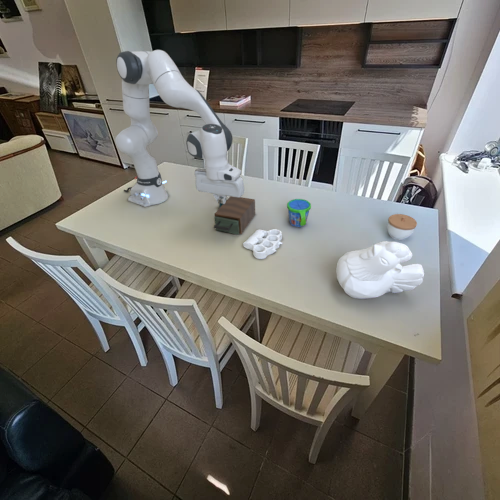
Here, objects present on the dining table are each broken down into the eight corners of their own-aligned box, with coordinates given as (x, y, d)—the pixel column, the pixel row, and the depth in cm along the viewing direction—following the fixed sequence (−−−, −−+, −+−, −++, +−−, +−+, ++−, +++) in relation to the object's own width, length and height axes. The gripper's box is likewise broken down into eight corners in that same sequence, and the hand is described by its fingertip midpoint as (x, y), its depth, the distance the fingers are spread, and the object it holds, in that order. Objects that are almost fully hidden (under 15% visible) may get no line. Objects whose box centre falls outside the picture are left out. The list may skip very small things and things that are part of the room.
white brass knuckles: (260, 230, 128) (289, 239, 122) (238, 251, 116) (269, 263, 110) (260, 224, 126) (289, 233, 119) (238, 245, 114) (269, 256, 108)
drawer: (234, 240, 121) (232, 228, 117) (210, 236, 125) (208, 223, 120) (252, 215, 136) (251, 203, 132) (231, 212, 140) (229, 200, 135)
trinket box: (409, 230, 123) (417, 212, 117) (412, 245, 115) (419, 226, 109) (383, 227, 126) (389, 209, 120) (384, 240, 118) (390, 222, 112)
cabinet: (241, 234, 126) (240, 218, 121) (216, 229, 130) (214, 213, 125) (255, 214, 138) (254, 199, 133) (232, 210, 142) (231, 195, 137)
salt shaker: (218, 209, 144) (216, 195, 139) (221, 205, 147) (220, 191, 142) (225, 210, 143) (223, 196, 138) (228, 206, 146) (227, 192, 141)
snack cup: (284, 214, 137) (285, 196, 131) (305, 213, 137) (307, 195, 131) (288, 233, 125) (289, 214, 119) (312, 232, 125) (314, 212, 119)
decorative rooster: (322, 282, 92) (386, 255, 72) (334, 248, 101) (394, 216, 80) (376, 323, 96) (450, 309, 76) (382, 287, 105) (451, 265, 85)
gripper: (189, 170, 107) (195, 202, 116) (238, 177, 101) (240, 210, 109) (198, 164, 111) (203, 195, 120) (245, 170, 105) (246, 202, 114)
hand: (221, 202), depth 115 cm, fingers closed
